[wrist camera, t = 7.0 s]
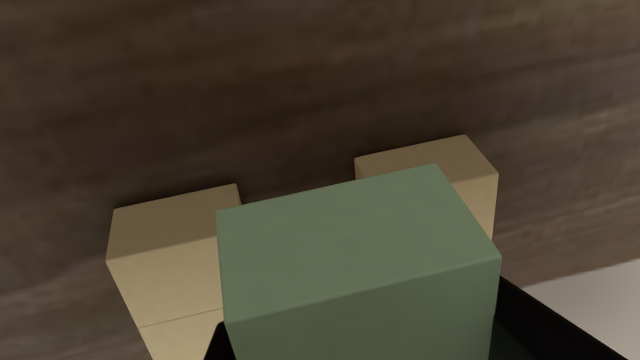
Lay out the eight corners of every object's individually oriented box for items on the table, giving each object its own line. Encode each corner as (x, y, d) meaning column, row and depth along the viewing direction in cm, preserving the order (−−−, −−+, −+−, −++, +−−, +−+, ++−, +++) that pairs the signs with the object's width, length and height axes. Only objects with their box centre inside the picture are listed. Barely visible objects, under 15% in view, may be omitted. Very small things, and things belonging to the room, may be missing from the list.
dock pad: (161, 318, 21) (159, 375, 19) (112, 208, 17) (104, 261, 15) (458, 248, 22) (486, 293, 20) (465, 132, 19) (500, 173, 17)
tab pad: (214, 209, 9) (224, 323, 7) (436, 160, 10) (504, 255, 8) (276, 417, 13) (292, 528, 11) (431, 376, 14) (475, 476, 12)
